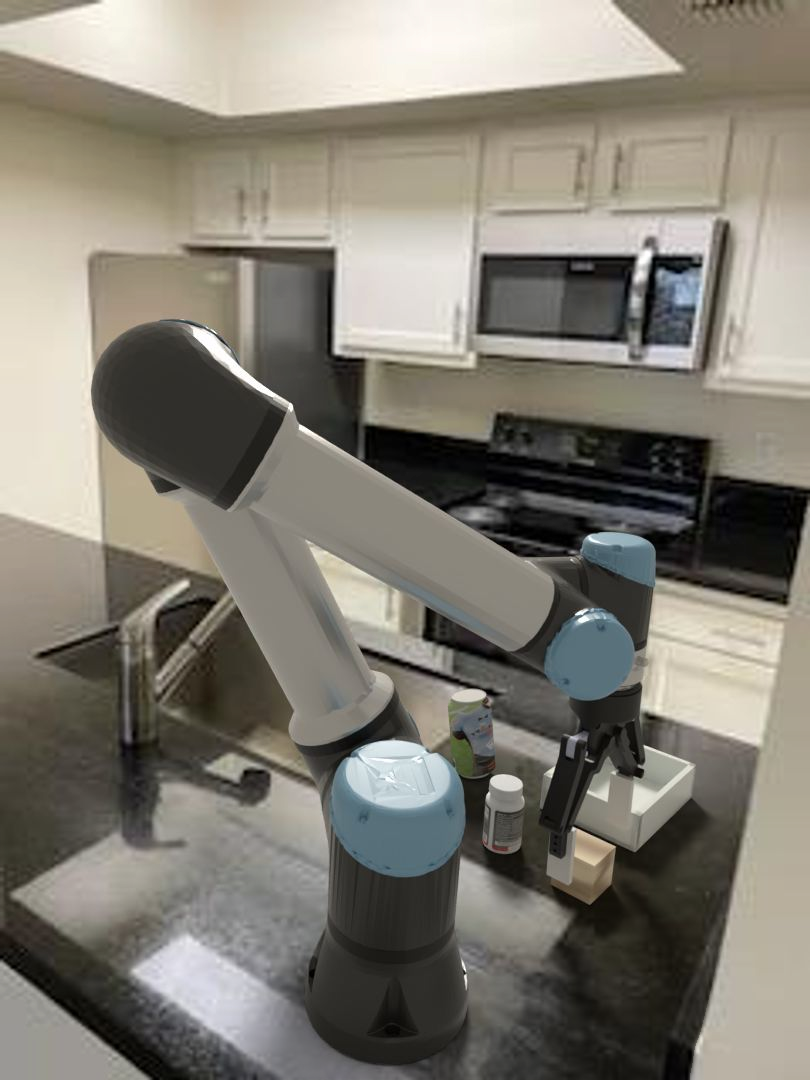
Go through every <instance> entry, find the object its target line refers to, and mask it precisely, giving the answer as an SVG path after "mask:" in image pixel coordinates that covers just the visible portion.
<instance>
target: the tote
mask: <svg viewBox="0 0 810 1080" xmlns="http://www.w3.org/2000/svg"><path fill="white" fill-rule="evenodd" d="M643 745H644V751H645V758H646V759H645V763H644V765H643V766H641V765H638V767H639V768H642V769H644V775H643V777H642V779H640V778H637V777H635V776H633V779H635V781H634V790H633V798H632V807H631V816H630V825H629V829H628V830H627V831H626V830H624V829H621V828H619V827H617V826H614V825H612V824H610V823H608V822H606V813H607V803H608V794H609V784H610V774H611V772H613V771H615V772H618V771H619V770H617V769H615V767H614V765H613V763H612V761H611V759H610V757H609V756H608V757H607V758H606V759H605V761H604V764H603V766H602V768H601V771H600V772H599V773H598V774H595V775H594V776H593V778H592V781H591V783H590V786H589V788H588V791H587V793H586V796H585V798H584V801H583V803H582V805H581V808H580V810H579V813H578V815H577V818H576V820H575V823H574V826H577V827H579V828H581V829H583V830H586V831H589V832H591V833H592V834H594V835H597V836H598V837H601V838H603V839H604V840H608V841H609V842H611V843H614V844H616V845H618V846H619V847H623V848H624V849H627V850H629V851H631V852H632V853H633V852H634V853H637V851H638V850H639V849H640V848H642V846H643V845H644V844H645V843H646V842H647V841H649V839H651V837H652V836H653V835H655V834H656V833H657V832H658V831H659V830H660V829H661V828H662V827H663V826H664V825H665V824H666V823H667V822H668V821H669V820H670V819H671V818H672V817H673V816H674V815H675V814H676V813H677V812H679V810H680V809H681V808H683V806H684V805H686V803H687V802H689V801H690V800H691V798H692V796H693V789H694V784H695V777H696V770H697V764H695V763H693V762H690V761H688V760H686V759H682V758H679V757H678V756H674V755H672V754H669V753H666V752H663V751H661V750H658V749H655V748H653V747H650V746H647V745H645V744H643ZM585 760H586V761H589V762H591V763H593V762H594V761H592V760H589V759H586V758H585ZM554 770H555V766H553V767H552V768H550V769H549V770H547V771H546V772H545V773H543V774H542V781H541V782H542V783H541V790H540V791H541V793H540V800H539V801H540V803H539V809H540V810H542V809H543V805H544V802H545V799H546V796H547V792H548V789H549V786H550V783H551V779H552V776H553V773H554Z"/></svg>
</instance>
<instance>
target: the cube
mask: <svg viewBox="0 0 810 1080" xmlns="http://www.w3.org/2000/svg"><path fill="white" fill-rule="evenodd" d="M616 848H617V846H615V845H613V844H611V843H608V842H607V841H605V840H602V839H601V838H599V837H596V836H594V835H591V834H589V833H587V832H585V831H583V830H581V829H579V828H577V833H576V844H575V854H574V865H573V876H572V883H570V884H569V885H566V884H564V883H562V882H560V881H558V880H556V879H554V878H552V877H550V878H551V879H550V885H551V886H553V887H555V888H557V889H558V890H561V891H563V892H565V893H566V894H567V895H570V896H572V897H573V898H576V899H577V900H579V901H582V902H583V903H585V904H587V905H589V906H591V904H592V903H594V902H595V901H596V899H598V897H600V896H601V895H602V894H603V893H604V892H605V891H606V890H607V889H608V888H609V887H610V886H611V885H612V880H613V872H614V863H615V857H616V856H615V855H616Z"/></svg>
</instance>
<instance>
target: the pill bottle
mask: <svg viewBox="0 0 810 1080" xmlns="http://www.w3.org/2000/svg"><path fill="white" fill-rule="evenodd" d="M523 788H524V785H523V781H522V780H521V779H520V778H519V777H517V776H514V775H510V774H503V773H502V774H495V775H494V776H492V777H491V778H490V780H489V786H488V790H489V791H488V793H486V796H485V801H484V802H485V803H484V816H483V817H484V818H483V827H482V828H483V829H482V843H483V845H484V847H486V849H488V850H489V851H491V852H493V853H496V854H500V855H509V854H513V853H515V852H517V851H518V850H519V849H520V848H521V845H522V837H523V836H522V835H523V826H524V825H523V824H524V817H525V815H524V814H525V804H526V803H525V798H524V796H523Z"/></svg>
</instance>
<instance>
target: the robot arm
mask: <svg viewBox="0 0 810 1080" xmlns="http://www.w3.org/2000/svg"><path fill="white" fill-rule="evenodd" d="M90 395H91V396H90V397H91V399H90V400H91V406H92V410H93V411H92V412H93V414H94V417H95V421H96V423H97V425H98V427H99V430H100V431H101V432H102V434H103V436H104V437H105V438H106V440H107V441H108V442H109V443H110V445H111V446H112V447H114V449H116V450H117V452H118V453H119V454H120V455H122V456H123V457H124V458H126V459H127V460H128V461H130V462H131V463H133V464H135V465H137V466H139V467H140V468H142V469H143V470H144V472H145V474H146V476H147V477H148V479H149V481H150V483H151V484H152V486H153V489H154V490H155V492H156V493H157V495H158V497H161V498H165V499H167V500H171V501H175V502H178V503H179V504H181V505H182V506H183V508H184V510H185V511H186V513H187V515H188V517H189V519H190V521H191V522H192V525H193V526H194V528H195V530H196V531H197V533H198V535H199V537H200V540H201V541H202V542H203V544H204V546H205V548H206V550H207V552H208V554H209V555H210V557H211V560H212V561H213V563H214V565H215V567H216V569H217V571H218V572H219V574H220V576H221V578H222V580H223V582H224V583H225V585H226V587H227V589H228V590H229V593H230V595H231V597H232V598H233V600H234V602H235V604H236V606H237V608H238V610H239V612H240V613H241V615H242V616H243V619H244V621H245V622H246V624H247V626H248V628H249V630H250V632H251V634H252V635H253V637H254V638H255V641H256V643H257V644H258V646H259V648H260V650H261V652H262V654H263V656H264V657H265V659H266V661H267V663H268V666H269V667H270V669H271V670H272V673H273V675H274V676H275V678H276V680H277V682H278V684H279V686H280V687H281V689H282V691H283V693H284V694H285V697H286V698H287V700H288V702H289V704H290V707H292V710H293V713H292V715H291V718H290V721H289V724H288V733H289V736H290V738H291V741H292V742H293V744H294V745H295V748H296V749H297V751H298V753H299V755H300V757H301V758H302V760H303V762H304V764H305V766H306V768H307V769H308V771H309V773H310V775H311V776H312V779H313V781H314V783H315V785H316V788H317V791H318V795H319V799H320V805H321V811H322V816H323V822H324V828H325V833H326V839H327V845H328V846H327V847H328V887H327V911H326V912H327V914H326V916H327V917H326V921H325V925H324V927H323V929H322V932H321V934H320V937H319V939H318V941H317V944H316V946H315V948H314V951H313V952H312V953H313V954H312V956H311V958H310V961H309V962H308V966H307V971H306V976H305V994H304V996H305V998H304V999H305V1000H304V1001H305V1002H304V1003H305V1009H306V1013H307V1016H308V1018H309V1021H310V1023H311V1025H312V1027H313V1028H314V1030H315V1032H316V1033H317V1034H318V1035H319V1037H321V1038H322V1040H324V1041H325V1042H326V1043H327V1044H328V1045H329V1046H330V1047H332V1048H334V1050H336V1051H338V1052H340V1053H341V1054H344V1055H345V1056H348V1057H350V1058H353V1059H355V1060H358V1061H362V1062H365V1063H371V1064H376V1065H377V1064H378V1065H400V1064H401V1065H402V1064H409V1063H412V1062H417V1061H420V1060H424V1059H426V1058H428V1057H430V1056H432V1055H434V1054H435V1053H438V1052H439V1051H441V1050H442V1049H444V1048H445V1047H446V1046H448V1045H449V1043H451V1042H452V1041H453V1040H454V1039H455V1037H456V1036H457V1035H458V1033H459V1032H460V1030H461V1028H462V1026H463V1025H464V1022H465V1019H466V1017H467V1013H468V1012H467V1011H468V1010H467V1009H468V1001H469V989H470V988H469V977H468V973H467V969H466V966H465V962H464V960H463V958H462V956H461V953H460V949H459V947H460V946H459V943H458V937H457V934H456V930H455V927H456V925H455V924H456V913H457V912H456V911H457V904H458V903H457V902H458V901H457V900H458V892H459V891H458V890H459V879H460V878H459V877H460V868H461V856H462V855H461V854H462V845H463V836H464V835H465V834H464V832H465V827H466V813H467V811H466V804H465V793H464V786H463V783H462V780H461V777H460V776H459V775H460V774H458V773H457V772H456V770H455V769H454V767H453V764H451V763H450V761H449V760H447V759H446V758H445V757H444V756H442V755H441V754H439V753H438V752H434V753H431V752H430V750H429V747H426V746H424V744H423V741H422V739H421V735H420V732H419V729H418V726H417V723H416V721H415V719H414V717H413V716H412V714H411V712H409V711H408V710H407V708H406V707H405V705H404V701H402V699H401V697H400V695H399V692H398V690H397V688H396V686H395V685H394V682H393V680H392V678H390V676H389V675H387V674H386V673H384V672H381V671H377V670H372V669H370V667H369V665H368V663H367V661H366V658H365V657H364V655H363V653H362V651H361V649H360V647H359V644H358V643H357V640H356V639H355V637H354V634H353V632H352V631H351V629H350V627H349V624H348V623H347V620H346V619H345V617H344V613H342V611H341V608H340V606H339V605H338V602H337V601H336V598H335V597H334V594H333V593H332V590H331V588H330V586H329V584H328V583H327V581H326V578H325V575H324V574H323V573H322V570H321V568H320V566H319V564H318V562H317V560H316V558H315V556H314V554H313V552H312V550H311V548H310V546H309V544H308V542H309V543H311V544H313V545H315V546H316V547H319V548H320V549H322V550H324V551H325V552H327V553H328V554H331V555H333V556H334V557H336V558H338V559H340V560H342V561H343V562H345V563H347V564H349V565H351V566H353V567H355V568H356V569H358V570H359V571H362V572H363V573H365V574H367V575H369V576H370V577H373V578H374V579H376V580H378V581H380V582H382V583H383V584H385V585H387V586H389V587H391V589H392V588H393V589H394V590H396V591H397V592H399V593H401V594H403V595H405V596H407V597H409V598H411V599H413V600H414V601H416V602H418V603H419V604H421V605H423V606H425V607H427V608H429V609H430V610H432V611H434V612H436V613H437V614H440V615H442V616H443V617H445V618H446V619H448V620H450V621H452V622H454V623H455V624H457V625H459V626H461V627H463V628H465V629H466V630H468V631H470V632H472V633H474V635H475V634H476V635H477V636H479V637H481V638H483V639H485V640H486V641H489V642H491V643H492V644H493V645H496V646H497V647H499V648H501V649H503V650H505V651H506V652H507V653H509V654H511V655H512V656H514V657H515V658H517V659H519V660H520V661H522V662H525V663H526V664H528V665H530V666H532V667H533V668H535V669H537V670H538V671H540V672H542V674H544V675H546V677H547V679H548V680H549V682H550V683H551V685H553V686H554V687H556V688H558V689H559V690H560V691H562V693H564V694H566V695H567V696H568V704H569V708H570V709H571V710H572V712H573V713H574V714H575V715H576V716H577V718H578V719H579V722H578V725H577V728H576V729H577V730H576V731H575V734H574V735H570V734H567V733H563V735H562V737H561V738H560V744H559V752H558V757H557V759H556V763H555V765H554V767H555V770H554V773H553V776H552V779H551V783H550V786H549V789H548V792H547V796H546V799H545V802H544V805H543V809H541V812H540V815H539V818H538V826H539V827H541V828H543V829H545V830H547V831H549V839H548V850H547V851H548V852H547V861H546V863H547V864H546V874H545V875H546V876H548V877H550V878H554V879H556V880H558V881H560V882H562V883H564V884H566V885H569V884H570V883H572V876H573V865H574V854H575V844H576V833H577V829H578V828H576V827H574V826H575V824H574V823H575V820H576V818H577V815H578V813H579V810H580V808H581V805H582V803H583V801H584V798H585V796H586V793H587V791H588V788H589V786H590V783H591V781H592V778H593V776H594V775H595V774H598V773H599V772H600V771H601V768H602V766H603V764H604V761H605V759H606V758H607V757H608V756H609V757H610V759H611V761H612V763H613V765H614V767H615V769H617V770H619V771H618V772H615V771H613V772H611V774H610V784H609V794H608V803H607V813H606V822H608V823H610V824H612V825H614V826H617V827H619V828H621V829H624V830H626V831H627V830H628V829H629V825H630V816H631V807H632V798H633V790H634V781H635V779H633V776H635V777H637V778H640V779H642V777H643V775H644V769H642V768H639V767H638V765H641V766H643V765H644V763H645V759H646V758H645V751H644V745H645V744H644V740H643V739H644V738H643V733H642V726H641V722H640V721H641V720H640V715H641V713H640V711H641V706H642V705H641V704H642V695H643V684H642V682H641V681H643V679H644V672H645V668H646V667H648V666H649V663H650V660H649V659H648V658H646V653H647V645H648V637H649V629H650V621H651V612H652V605H653V597H654V588H655V587H656V585H657V584H656V564H657V562H656V553H657V552H656V549H655V547H654V545H653V544H652V543H651V542H650V541H649V540H647V539H645V538H643V537H641V536H639V535H636V534H631V533H623V532H614V531H604V532H597V533H590V534H589V535H587V536H585V538H584V539H583V541H582V545H581V548H580V550H579V555H578V554H577V555H570V556H547V557H546V556H543V557H542V556H541V557H540V556H539V557H538V556H537V557H532V556H529V557H519V556H517V555H516V554H514V553H513V552H510V551H509V550H507V549H506V548H504V547H503V546H501V545H499V544H497V543H496V542H494V541H493V540H491V539H489V538H488V537H486V536H485V535H483V534H481V533H479V532H478V531H477V530H475V529H473V528H471V527H469V526H468V525H466V523H463V522H462V521H460V520H458V519H456V518H455V517H453V516H452V515H450V514H448V513H446V512H445V511H443V510H442V509H440V508H439V507H437V506H435V505H434V504H432V503H431V502H428V501H427V500H425V499H424V498H422V497H421V496H419V495H418V494H415V493H414V492H412V491H411V490H409V489H407V488H406V487H404V486H402V485H401V484H400V483H397V482H395V481H394V480H392V479H391V478H389V477H388V476H385V475H384V474H383V473H381V472H379V471H377V470H376V469H374V468H372V467H371V466H369V465H368V464H366V463H364V462H363V461H361V460H360V459H357V458H356V457H355V456H353V455H351V454H349V453H348V452H347V451H344V449H342V448H340V447H338V446H337V445H335V444H334V443H331V442H329V441H328V440H327V439H326V438H324V437H322V436H320V435H319V434H317V433H315V432H314V431H312V430H310V429H308V428H307V427H305V426H304V425H302V424H300V423H299V421H298V419H297V415H296V412H295V409H294V405H293V404H292V403H291V402H289V401H288V400H287V399H285V398H283V397H281V396H280V395H278V394H277V393H275V392H274V391H272V390H270V389H269V388H267V387H266V386H264V385H263V384H262V383H261V382H259V381H258V380H256V379H255V378H254V377H253V376H252V375H250V374H249V373H248V372H247V371H246V370H245V369H244V368H243V366H242V365H241V362H240V360H239V358H238V356H237V354H236V352H235V351H234V349H233V348H232V347H231V346H230V345H229V344H228V343H227V341H226V340H225V339H224V338H223V337H221V335H219V334H218V333H216V332H215V331H214V330H213V329H211V328H209V327H207V326H205V325H203V324H201V323H198V322H195V321H191V320H190V319H189V320H188V319H184V318H183V319H179V318H178V319H177V318H167V319H165V318H163V319H159V320H158V321H151V322H145V323H142V324H137V325H136V326H133V327H130V328H129V329H126V331H124V332H122V333H121V334H119V335H118V336H116V338H115V339H113V340H112V341H111V342H110V343H109V345H107V347H106V348H105V349H104V350H103V352H102V353H101V354H100V357H99V359H98V361H97V362H96V365H95V369H94V371H93V373H92V379H91V385H90ZM585 758H586V759H589V760H592V761H594V762H593V763H591V762H589V761H586V760H585Z"/></svg>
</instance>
